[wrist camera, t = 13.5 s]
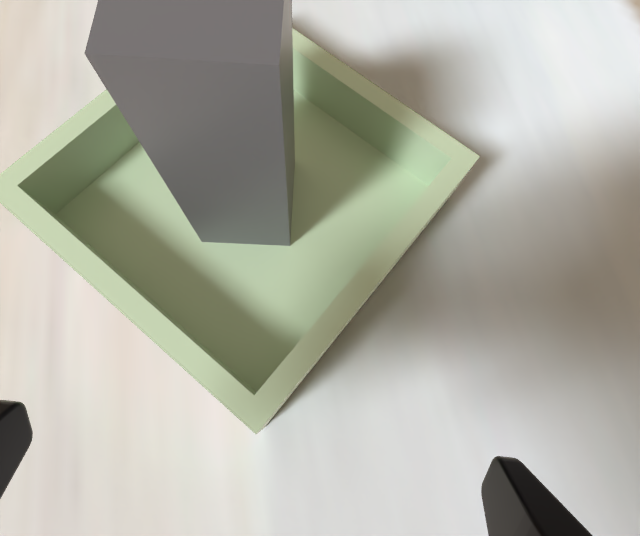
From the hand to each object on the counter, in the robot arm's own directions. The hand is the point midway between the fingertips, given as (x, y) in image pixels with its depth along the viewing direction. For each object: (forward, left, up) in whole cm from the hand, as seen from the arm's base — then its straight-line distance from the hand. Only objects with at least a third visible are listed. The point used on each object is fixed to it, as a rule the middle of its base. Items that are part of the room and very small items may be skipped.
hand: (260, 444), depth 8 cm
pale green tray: (+7, +8, -12) cm, 16 cm away
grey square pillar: (+7, +8, -11) cm, 16 cm away
